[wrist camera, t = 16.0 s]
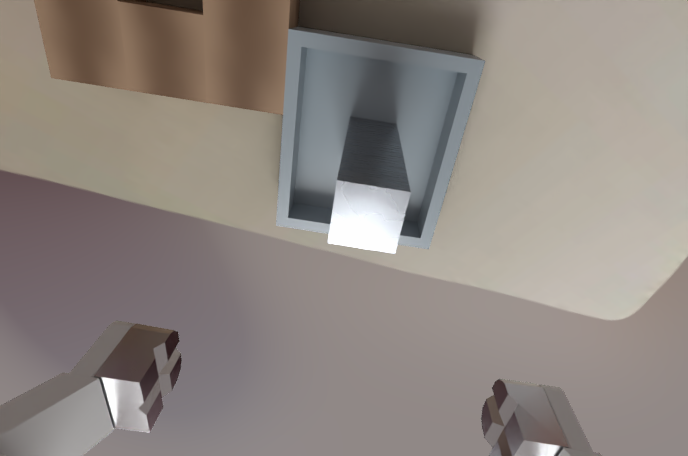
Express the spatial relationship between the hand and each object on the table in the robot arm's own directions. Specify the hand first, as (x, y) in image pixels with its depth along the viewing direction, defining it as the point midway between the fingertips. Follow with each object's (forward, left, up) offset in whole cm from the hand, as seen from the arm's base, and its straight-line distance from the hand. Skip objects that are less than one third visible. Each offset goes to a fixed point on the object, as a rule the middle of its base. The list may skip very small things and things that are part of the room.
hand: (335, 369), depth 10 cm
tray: (-1, +2, -27) cm, 27 cm away
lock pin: (-1, +2, -26) cm, 26 cm away
